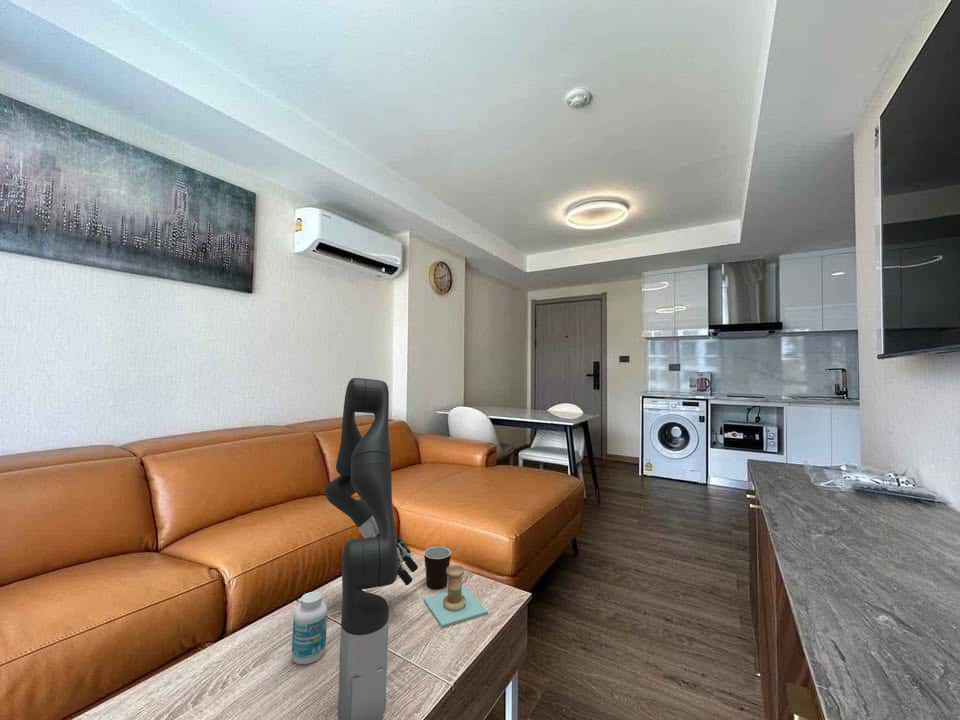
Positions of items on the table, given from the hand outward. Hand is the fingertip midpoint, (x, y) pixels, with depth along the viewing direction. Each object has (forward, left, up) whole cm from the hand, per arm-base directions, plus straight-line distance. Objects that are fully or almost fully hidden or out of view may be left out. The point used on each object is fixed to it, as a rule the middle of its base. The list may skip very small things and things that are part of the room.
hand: (412, 576), depth 113 cm
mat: (-5, -11, -9) cm, 15 cm away
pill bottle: (-7, +28, -9) cm, 30 cm away
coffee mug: (+10, -12, -9) cm, 18 cm away
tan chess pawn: (-5, -11, -8) cm, 15 cm away
